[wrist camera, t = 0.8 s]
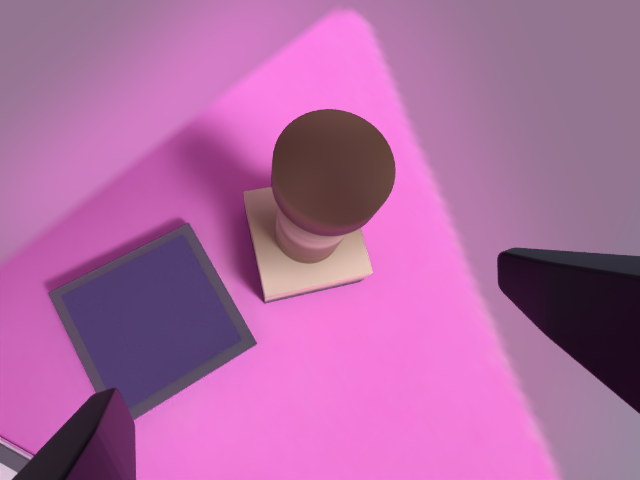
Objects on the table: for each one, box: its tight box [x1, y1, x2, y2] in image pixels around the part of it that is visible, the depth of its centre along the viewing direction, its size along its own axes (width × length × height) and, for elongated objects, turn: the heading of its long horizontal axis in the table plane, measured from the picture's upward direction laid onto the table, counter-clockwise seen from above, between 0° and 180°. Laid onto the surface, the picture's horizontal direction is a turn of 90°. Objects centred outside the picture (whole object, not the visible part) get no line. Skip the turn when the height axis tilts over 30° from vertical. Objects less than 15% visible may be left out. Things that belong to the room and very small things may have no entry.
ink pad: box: [48, 223, 257, 420], centre depth 22 cm, size 8×8×1 cm
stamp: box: [243, 109, 395, 303], centre depth 19 cm, size 6×6×11 cm
